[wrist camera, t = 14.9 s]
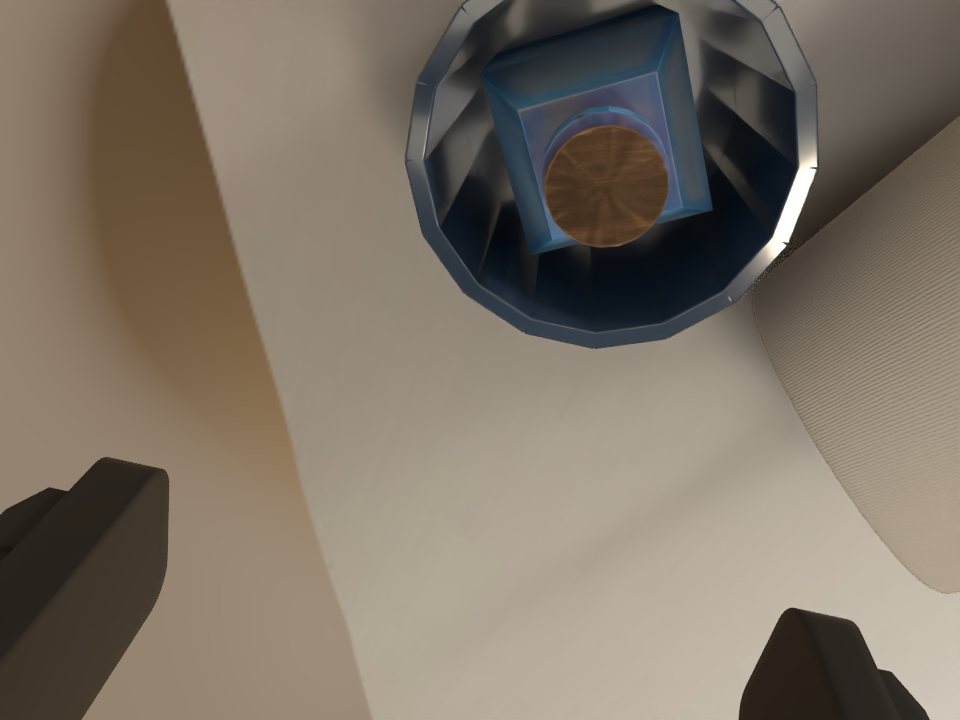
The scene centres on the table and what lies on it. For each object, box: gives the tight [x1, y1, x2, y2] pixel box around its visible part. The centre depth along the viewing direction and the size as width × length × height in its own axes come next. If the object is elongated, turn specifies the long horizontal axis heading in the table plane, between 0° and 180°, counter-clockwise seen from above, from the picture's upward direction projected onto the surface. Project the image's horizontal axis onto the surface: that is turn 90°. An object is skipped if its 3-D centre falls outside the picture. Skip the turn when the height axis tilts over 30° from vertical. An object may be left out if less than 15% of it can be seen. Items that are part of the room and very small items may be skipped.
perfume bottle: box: [480, 4, 713, 255], centre depth 26 cm, size 6×6×12 cm
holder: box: [405, 0, 819, 349], centre depth 27 cm, size 12×12×10 cm
